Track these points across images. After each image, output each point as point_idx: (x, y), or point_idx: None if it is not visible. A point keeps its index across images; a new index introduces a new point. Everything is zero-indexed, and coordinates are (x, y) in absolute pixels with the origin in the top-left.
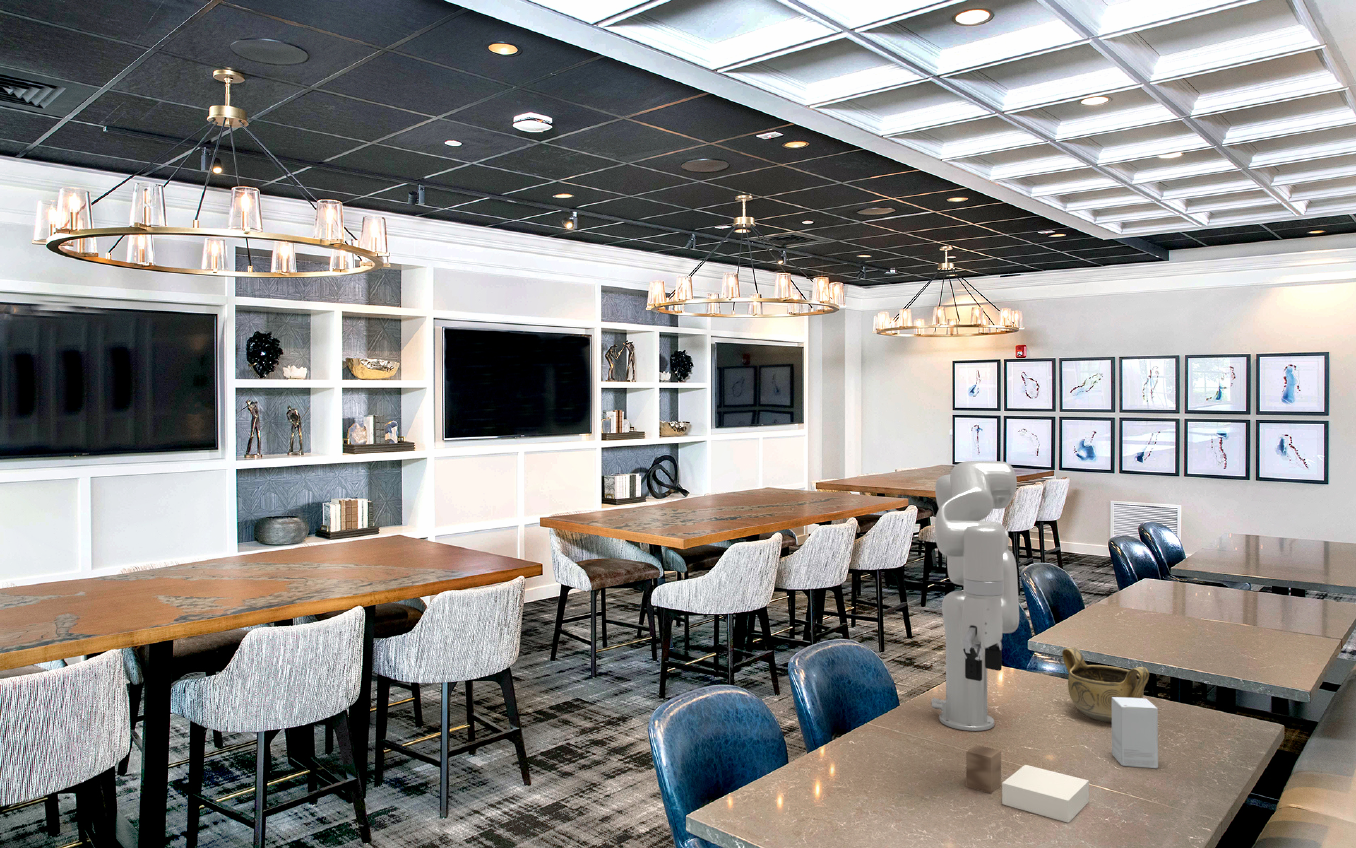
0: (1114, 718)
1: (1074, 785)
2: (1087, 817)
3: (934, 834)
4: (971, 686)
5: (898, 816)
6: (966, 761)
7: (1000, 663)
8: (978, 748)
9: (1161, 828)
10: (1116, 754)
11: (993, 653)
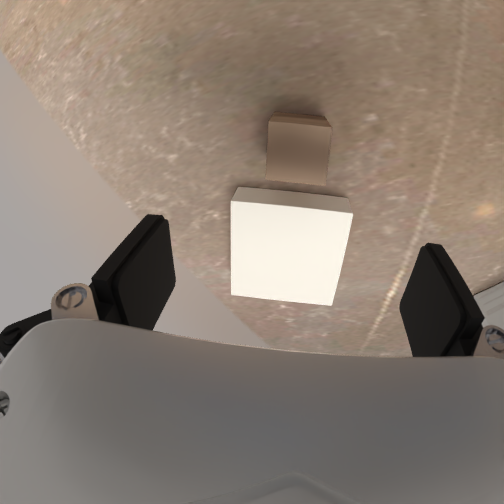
0: None
1: (297, 293)
2: None
3: (84, 150)
4: None
5: (93, 86)
6: (270, 118)
7: (408, 334)
8: (308, 138)
9: (292, 346)
10: (492, 292)
11: (432, 347)
